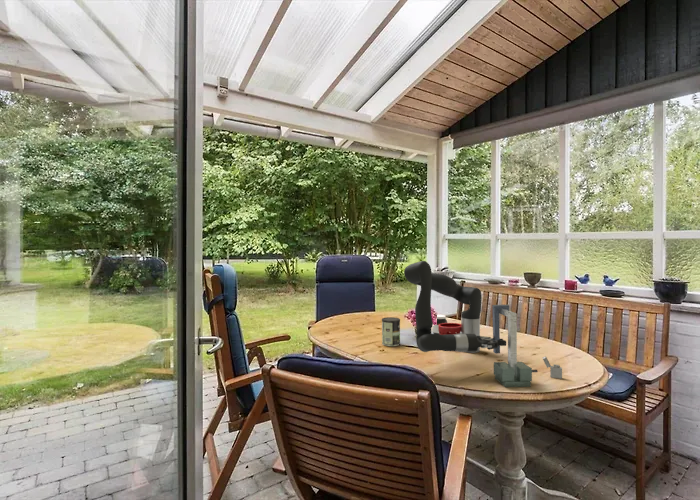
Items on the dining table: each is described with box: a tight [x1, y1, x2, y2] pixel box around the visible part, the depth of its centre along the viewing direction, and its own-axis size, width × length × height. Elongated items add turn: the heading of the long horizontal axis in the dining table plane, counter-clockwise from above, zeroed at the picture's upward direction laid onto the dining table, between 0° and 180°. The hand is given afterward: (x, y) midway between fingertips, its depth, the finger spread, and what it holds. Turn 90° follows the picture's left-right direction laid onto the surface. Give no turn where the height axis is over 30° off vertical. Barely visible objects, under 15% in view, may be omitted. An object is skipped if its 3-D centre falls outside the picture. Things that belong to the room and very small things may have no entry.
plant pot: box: [438, 322, 461, 335], centre depth 194 cm, size 13×13×12 cm
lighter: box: [542, 355, 563, 380], centre depth 148 cm, size 7×2×8 cm, turn 57°
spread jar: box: [432, 314, 450, 334], centre depth 219 cm, size 12×11×12 cm
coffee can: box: [381, 316, 401, 347], centre depth 200 cm, size 10×10×14 cm
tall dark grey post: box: [491, 304, 510, 355], centre depth 152 cm, size 6×2×20 cm, turn 91°
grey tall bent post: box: [493, 309, 538, 388], centre depth 147 cm, size 16×18×28 cm
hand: (504, 342), depth 152 cm, fingers closed on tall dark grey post, 2 cm apart
